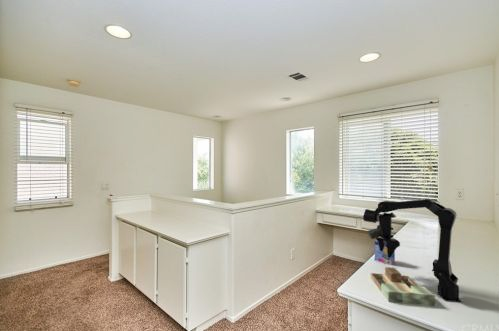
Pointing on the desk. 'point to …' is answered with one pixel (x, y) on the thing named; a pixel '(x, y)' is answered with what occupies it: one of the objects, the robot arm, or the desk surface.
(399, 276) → the walnut brick
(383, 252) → the ink cartridge box
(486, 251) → the desk surface
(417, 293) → the trap board
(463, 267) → the desk surface
